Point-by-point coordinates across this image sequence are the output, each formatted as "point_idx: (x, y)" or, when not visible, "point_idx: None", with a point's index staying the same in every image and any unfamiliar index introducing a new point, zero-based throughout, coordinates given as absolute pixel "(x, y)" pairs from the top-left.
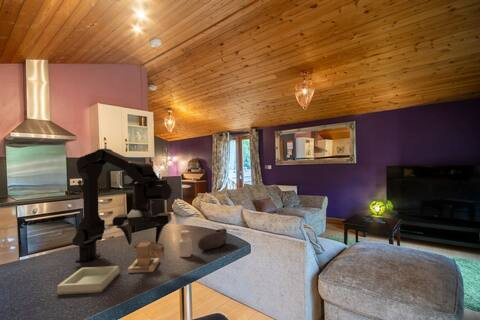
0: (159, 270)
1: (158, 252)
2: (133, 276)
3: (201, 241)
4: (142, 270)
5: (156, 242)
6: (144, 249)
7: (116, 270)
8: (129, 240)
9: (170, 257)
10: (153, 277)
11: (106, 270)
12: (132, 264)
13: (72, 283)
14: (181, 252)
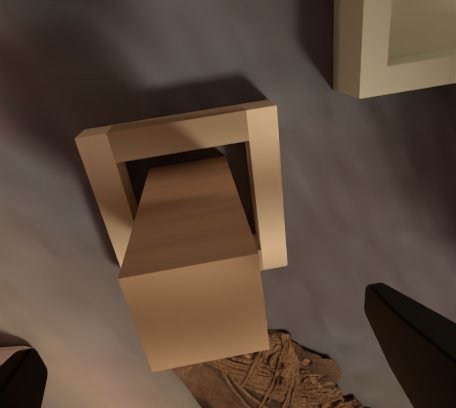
0: (45, 154)
1: (211, 377)
2: (195, 39)
3: None
4: (161, 120)
5: (16, 356)
6: (160, 245)
7: (352, 42)
8: (402, 316)
9: (99, 336)
10: (8, 23)
11: (437, 53)
12: (274, 178)
13: None
14: None
